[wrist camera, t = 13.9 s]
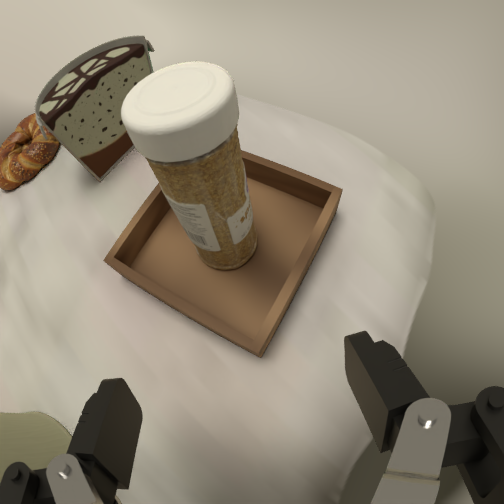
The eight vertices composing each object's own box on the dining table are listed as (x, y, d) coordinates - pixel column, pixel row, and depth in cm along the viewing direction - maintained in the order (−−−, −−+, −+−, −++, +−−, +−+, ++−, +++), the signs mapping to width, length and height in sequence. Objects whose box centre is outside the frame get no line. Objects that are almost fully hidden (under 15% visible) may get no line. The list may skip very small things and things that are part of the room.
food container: (140, 98, 32) (112, 30, 23) (175, 110, 30) (148, 32, 21) (63, 171, 28) (14, 108, 19) (89, 193, 27) (33, 123, 17)
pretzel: (21, 206, 28) (2, 189, 24) (-8, 181, 30) (-23, 166, 27) (84, 127, 31) (71, 106, 28) (45, 116, 34) (34, 99, 31)
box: (260, 358, 20) (258, 353, 17) (121, 275, 23) (103, 260, 20) (336, 211, 24) (342, 189, 21) (204, 159, 27) (197, 135, 24)
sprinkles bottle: (270, 251, 22) (257, 92, 10) (212, 283, 21) (132, 149, 9) (238, 204, 24) (204, 46, 11) (185, 233, 23) (108, 89, 11)
